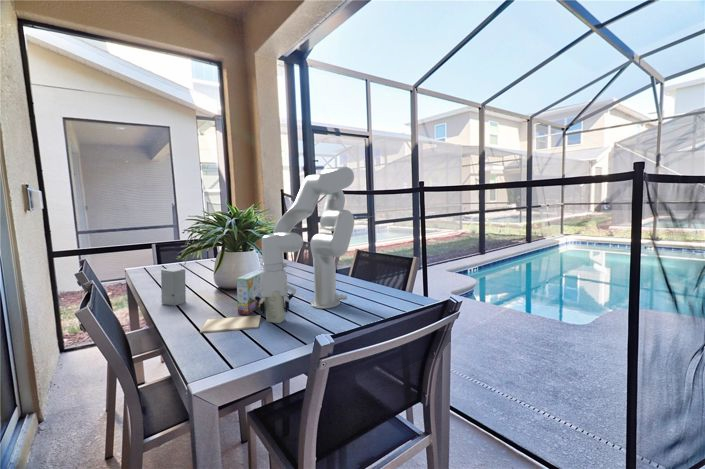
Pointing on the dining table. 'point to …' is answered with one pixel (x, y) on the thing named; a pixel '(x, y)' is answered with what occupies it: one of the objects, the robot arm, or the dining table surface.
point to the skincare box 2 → (275, 308)
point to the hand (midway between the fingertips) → (275, 311)
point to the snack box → (248, 292)
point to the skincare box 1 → (173, 286)
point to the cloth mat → (231, 324)
